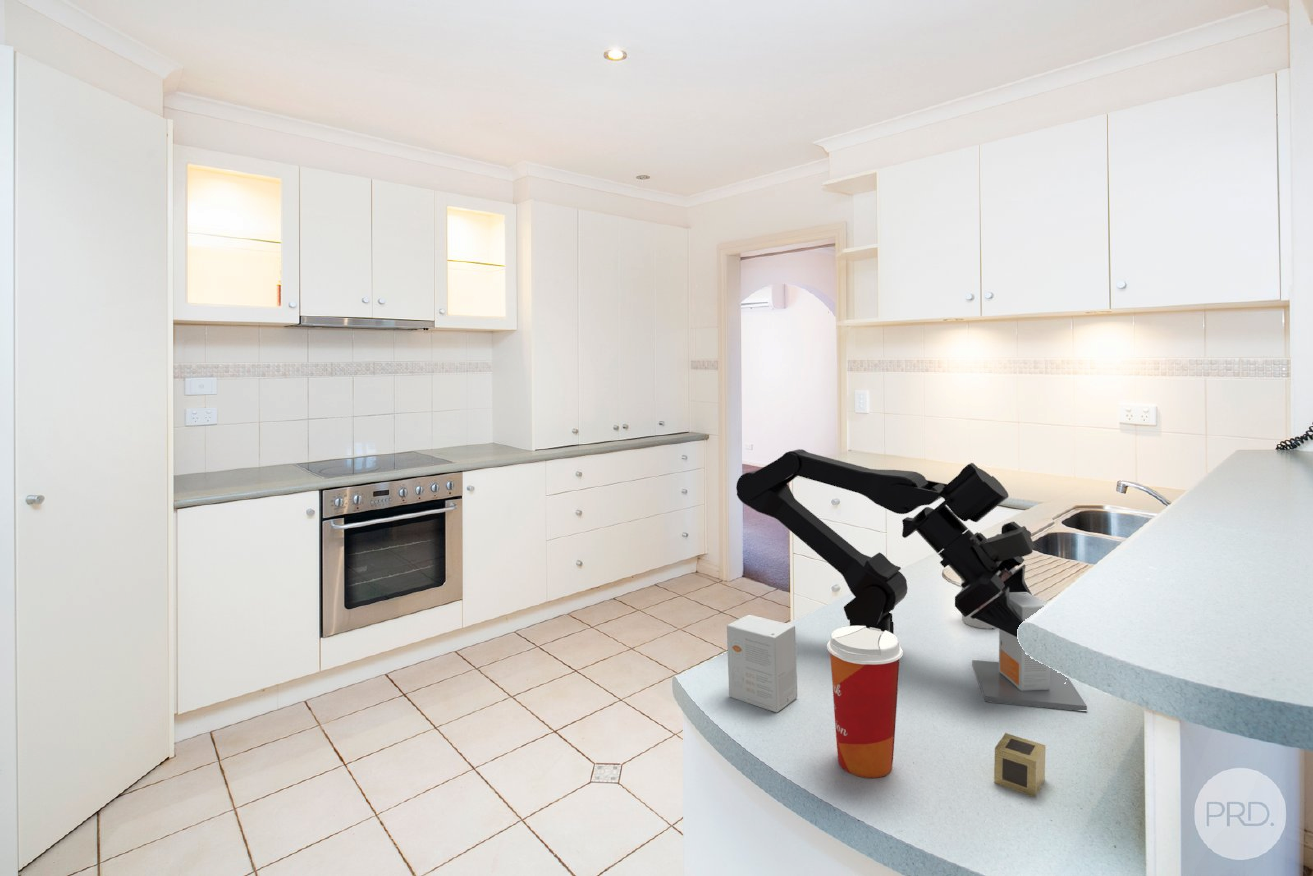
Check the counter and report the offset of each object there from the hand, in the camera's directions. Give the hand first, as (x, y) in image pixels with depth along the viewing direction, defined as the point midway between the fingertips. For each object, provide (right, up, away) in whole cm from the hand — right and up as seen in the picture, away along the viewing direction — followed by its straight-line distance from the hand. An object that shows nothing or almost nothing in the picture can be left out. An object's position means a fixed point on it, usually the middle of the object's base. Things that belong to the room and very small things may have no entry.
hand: (1037, 629), depth 93 cm
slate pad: (-1, -8, +2) cm, 9 cm away
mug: (+5, -6, +28) cm, 29 cm away
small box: (-38, -10, +1) cm, 39 cm away
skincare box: (-1, -8, +1) cm, 8 cm away
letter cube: (-13, -11, -20) cm, 26 cm away
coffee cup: (-29, -11, -16) cm, 35 cm away
